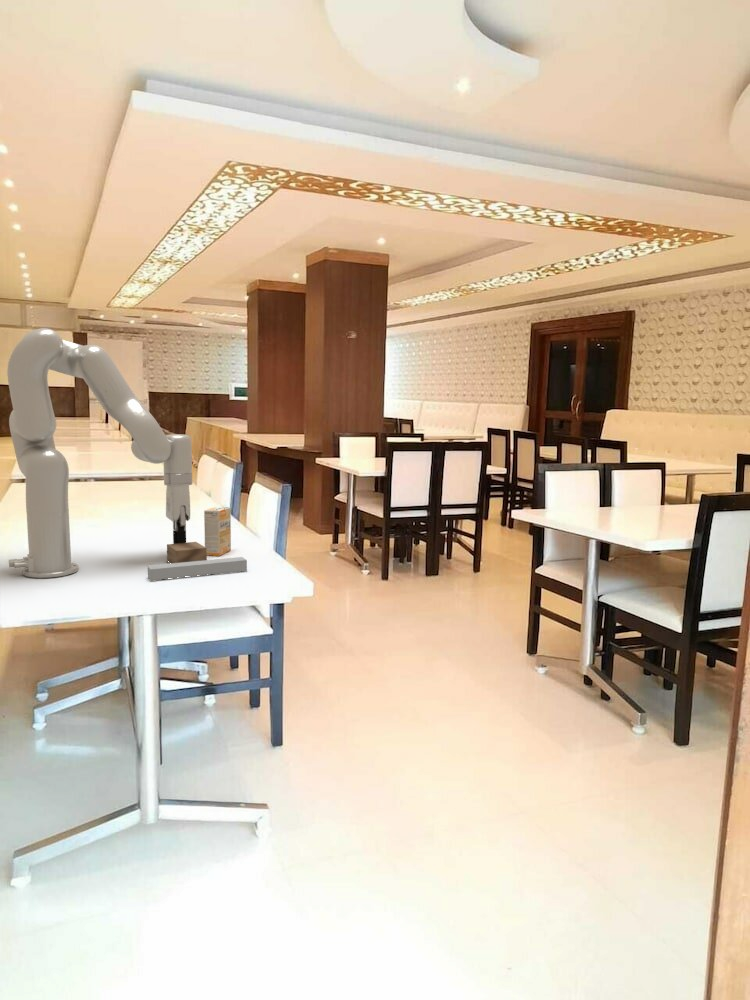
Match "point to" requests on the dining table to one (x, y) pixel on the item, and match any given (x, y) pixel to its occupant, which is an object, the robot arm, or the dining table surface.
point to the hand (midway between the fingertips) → (179, 544)
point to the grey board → (197, 568)
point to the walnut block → (186, 552)
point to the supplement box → (217, 530)
